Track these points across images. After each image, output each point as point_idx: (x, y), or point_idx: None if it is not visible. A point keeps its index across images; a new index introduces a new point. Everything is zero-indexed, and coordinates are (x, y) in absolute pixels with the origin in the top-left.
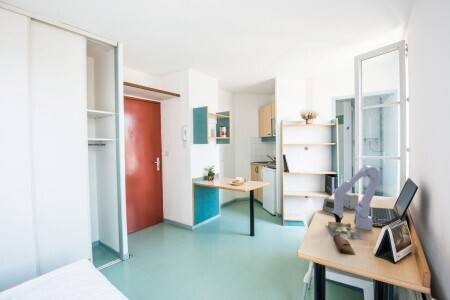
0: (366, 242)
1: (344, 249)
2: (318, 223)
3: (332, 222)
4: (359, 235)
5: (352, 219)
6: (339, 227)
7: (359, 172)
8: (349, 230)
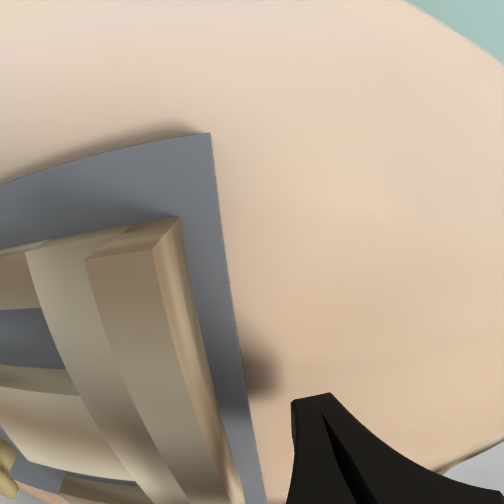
0: None
1: None
2: (354, 29)
3: (130, 378)
4: None
5: (485, 442)
6: (83, 426)
7: None
8: None
